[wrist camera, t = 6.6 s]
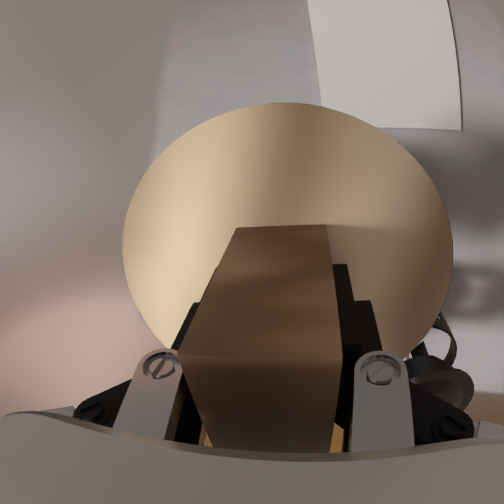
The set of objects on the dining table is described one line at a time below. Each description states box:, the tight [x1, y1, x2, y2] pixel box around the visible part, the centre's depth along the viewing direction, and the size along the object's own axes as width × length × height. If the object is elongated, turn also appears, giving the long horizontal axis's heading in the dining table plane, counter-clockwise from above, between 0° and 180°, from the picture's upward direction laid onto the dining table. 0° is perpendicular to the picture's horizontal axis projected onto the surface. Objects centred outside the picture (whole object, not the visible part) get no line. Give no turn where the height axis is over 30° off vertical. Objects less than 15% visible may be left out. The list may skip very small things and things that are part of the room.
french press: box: [404, 311, 474, 411], centre depth 24 cm, size 12×9×23 cm
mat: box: [307, 0, 461, 131], centre depth 23 cm, size 14×14×1 cm
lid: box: [123, 103, 453, 453], centre depth 10 cm, size 13×13×7 cm
